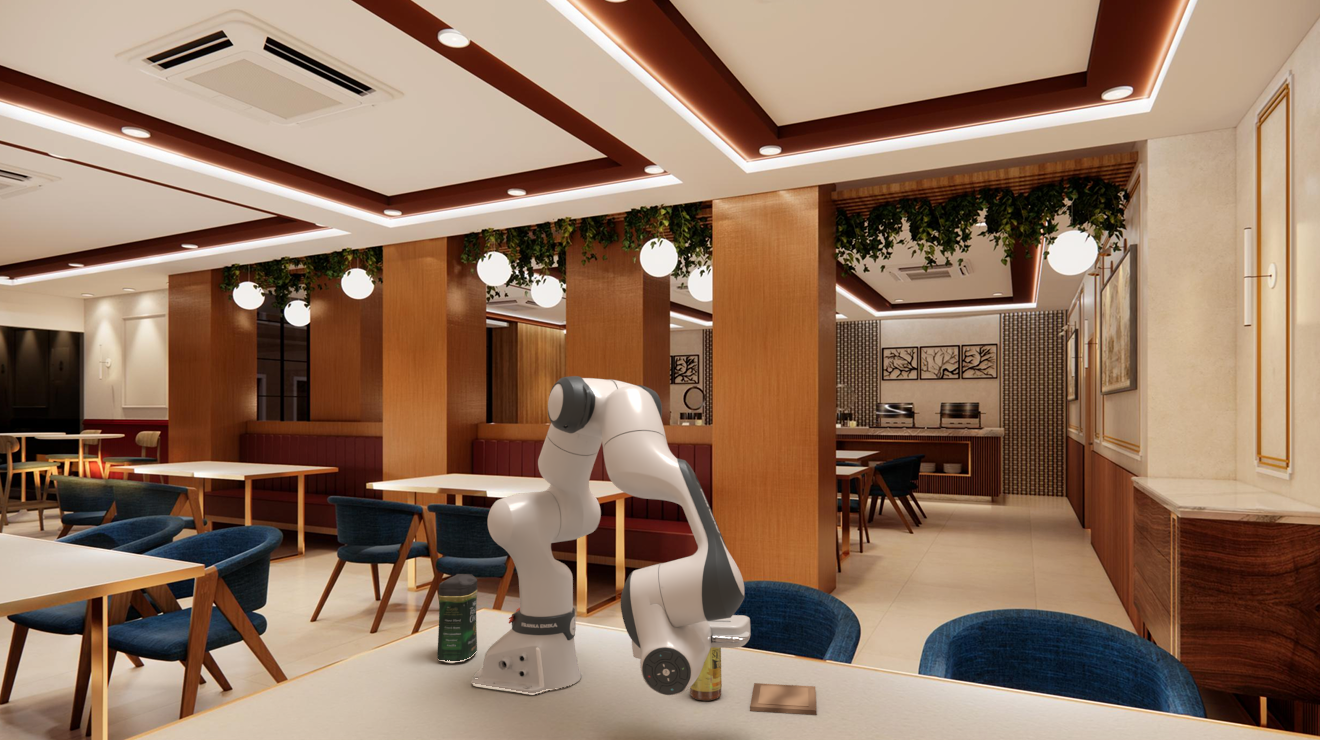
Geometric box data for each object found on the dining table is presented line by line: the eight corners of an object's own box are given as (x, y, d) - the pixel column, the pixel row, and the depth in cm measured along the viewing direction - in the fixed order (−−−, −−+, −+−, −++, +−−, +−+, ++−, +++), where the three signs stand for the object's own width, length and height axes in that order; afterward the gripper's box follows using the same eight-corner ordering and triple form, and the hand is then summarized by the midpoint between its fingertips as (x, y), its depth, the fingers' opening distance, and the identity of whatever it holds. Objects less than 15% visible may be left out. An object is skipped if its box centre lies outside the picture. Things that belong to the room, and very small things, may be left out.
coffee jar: (467, 665, 162) (467, 580, 163) (432, 665, 163) (433, 580, 164) (481, 651, 172) (482, 571, 173) (449, 651, 172) (449, 571, 174)
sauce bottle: (719, 703, 138) (717, 596, 140) (687, 701, 140) (685, 595, 141) (723, 690, 145) (721, 588, 146) (692, 688, 146) (690, 587, 147)
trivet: (750, 710, 135) (750, 705, 135) (754, 687, 146) (754, 682, 146) (816, 714, 132) (816, 709, 132) (815, 690, 144) (815, 685, 144)
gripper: (748, 620, 116) (753, 600, 130) (623, 618, 120) (641, 598, 134) (749, 661, 116) (755, 636, 129) (624, 657, 120) (642, 633, 133)
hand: (696, 617), depth 131 cm, fingers open, 8 cm apart
